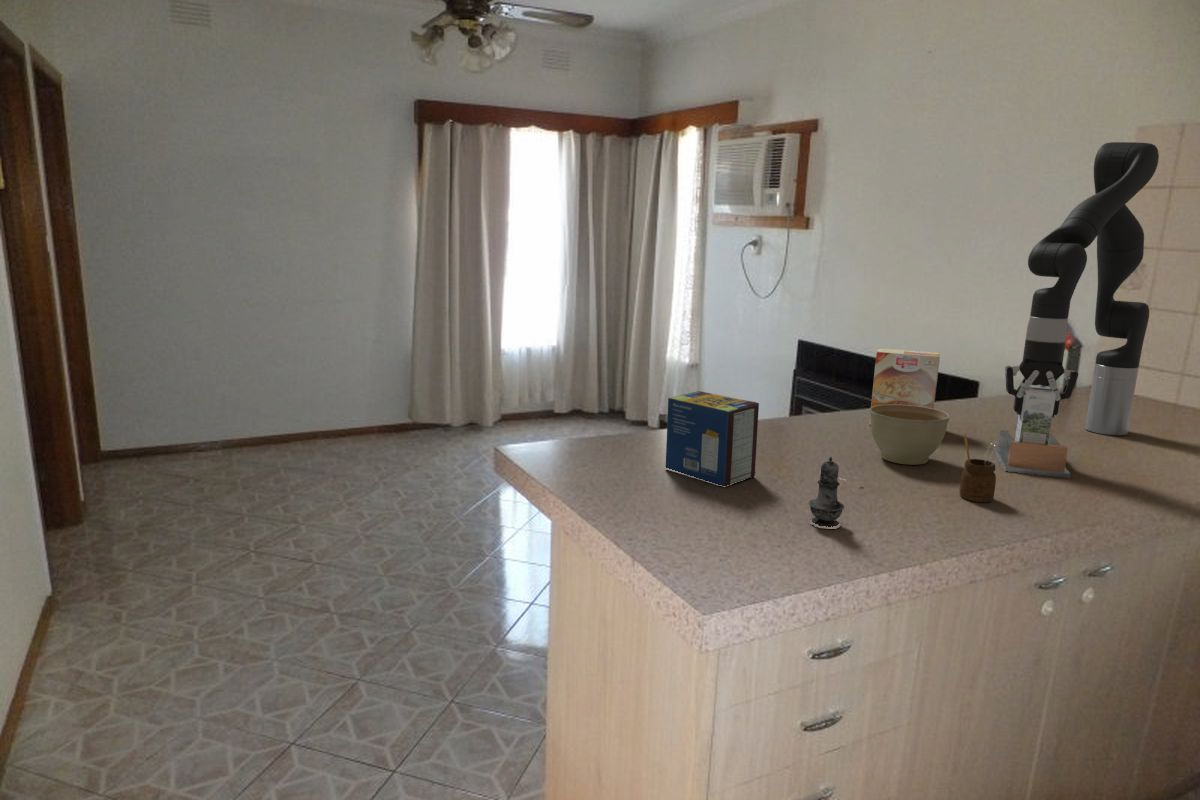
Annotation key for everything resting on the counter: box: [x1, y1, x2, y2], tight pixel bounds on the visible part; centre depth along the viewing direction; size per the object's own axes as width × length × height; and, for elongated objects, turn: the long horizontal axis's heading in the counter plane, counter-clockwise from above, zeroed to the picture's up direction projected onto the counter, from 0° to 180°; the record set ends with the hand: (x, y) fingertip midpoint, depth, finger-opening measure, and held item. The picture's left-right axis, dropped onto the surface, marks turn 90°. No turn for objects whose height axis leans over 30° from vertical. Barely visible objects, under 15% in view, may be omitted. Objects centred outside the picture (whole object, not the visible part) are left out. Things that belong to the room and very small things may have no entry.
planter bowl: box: [869, 404, 950, 466], centre depth 171 cm, size 16×16×11 cm
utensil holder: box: [959, 433, 1000, 503], centre depth 147 cm, size 6×6×12 cm
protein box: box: [665, 390, 760, 486], centre depth 158 cm, size 10×15×16 cm
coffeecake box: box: [868, 347, 941, 424], centre depth 200 cm, size 15×7×20 cm, turn 68°
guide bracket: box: [993, 429, 1071, 479], centre depth 171 cm, size 18×12×6 cm, turn 161°
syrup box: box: [1013, 386, 1056, 444], centre depth 170 cm, size 6×6×14 cm
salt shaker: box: [808, 456, 845, 527], centre depth 132 cm, size 6×6×12 cm
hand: (1034, 415), depth 170 cm, fingers closed on syrup box, 5 cm apart
